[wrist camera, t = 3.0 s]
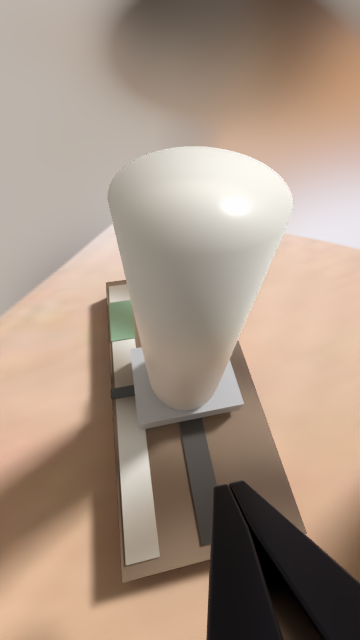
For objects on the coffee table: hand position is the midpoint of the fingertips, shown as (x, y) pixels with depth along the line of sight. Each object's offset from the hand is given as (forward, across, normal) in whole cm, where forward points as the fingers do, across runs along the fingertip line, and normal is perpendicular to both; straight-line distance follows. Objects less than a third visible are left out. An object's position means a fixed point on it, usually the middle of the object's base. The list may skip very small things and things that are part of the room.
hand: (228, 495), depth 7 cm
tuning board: (+10, 0, +1) cm, 10 cm away
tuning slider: (+8, 0, 0) cm, 8 cm away
